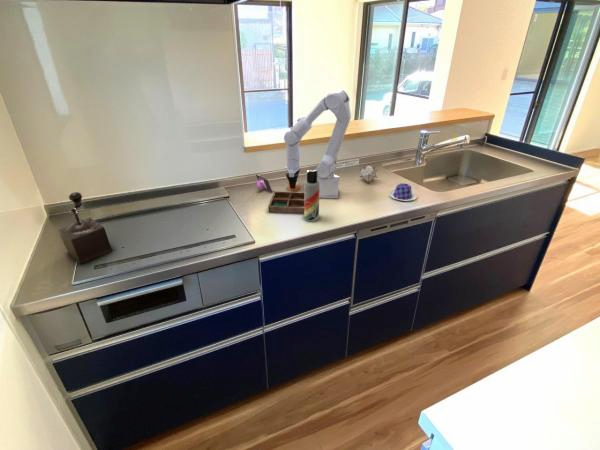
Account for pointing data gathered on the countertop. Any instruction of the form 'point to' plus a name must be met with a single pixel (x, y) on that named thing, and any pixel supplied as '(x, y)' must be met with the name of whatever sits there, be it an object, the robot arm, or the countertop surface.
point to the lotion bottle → (311, 196)
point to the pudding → (403, 192)
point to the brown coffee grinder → (84, 235)
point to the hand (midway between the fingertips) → (293, 185)
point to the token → (295, 187)
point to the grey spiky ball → (368, 173)
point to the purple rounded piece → (261, 184)
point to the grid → (287, 202)
